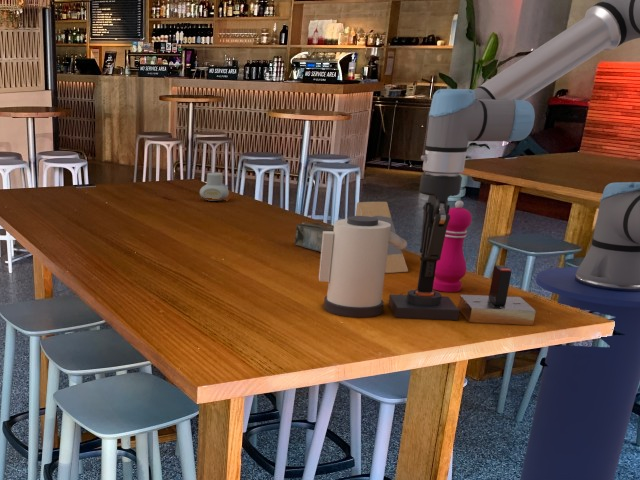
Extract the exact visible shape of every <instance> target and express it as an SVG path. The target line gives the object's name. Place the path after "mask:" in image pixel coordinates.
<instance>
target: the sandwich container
mask: <svg viewBox="0 0 640 480" xmlns="http://www.w3.org/2000/svg"><path fill="white" fill-rule="evenodd" d="M355 210H356V211H355V216H369V217H375V218H377V219H378V220H379V221H384V222H387V223H389V224H391V228H390V231H391V232H393V233H394V234H396V235H398V234H397V231H396V229H395V225H394V222H393V218H392V215H391V211H390V208H389V204H388V201H360V202H359V201H358V202H357V203H356V209H355ZM392 273H393V274H394V273H409V269H408V267H407V263H406V260H405V256H404V254H403V251H402V249H399V248H397V247H396V246H394V245H392V244H391V243H389V244H388V252H387V260H386V268H385V274H392Z"/></svg>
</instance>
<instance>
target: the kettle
mask: <svg viewBox="0 0 640 480" xmlns="http://www.w3.org/2000/svg"><path fill="white" fill-rule="evenodd" d="M333 227H334V231H323V237H322V248H321V252H320V259H319V270H318V281H319V282H325V283H326V282H328V283H327V293H326V296H324V299H323V309H324V310H325V311H326V312H328V313H331V314H333V315H335V316H340V317H345V318H359V319H361V318H374V317H377V316H380V315H382V314H383V311H384V303H385V302H384V300H383V291H384V282H385V277H386V276H385V275H386V273H385V268H386V260H387V252H388V244H389V243H391V244H392V245H394V246H396V247H397V248H399V249H401V250H405V249H406V248H407V247H408V242H407V240H406V239H404V238H403V237H401V236H399V235H398V234H397V233H396V234H397V235H396V234H394V233H393V232H391V231H390V228H391V224H389V223H387V222H384V221H379V220H378V219H377V218H375V217H369V216H356V215H351V216H348V217H347V218H341V219H337V220H335V221H334V223H333Z"/></svg>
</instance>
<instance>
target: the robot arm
mask: <svg viewBox="0 0 640 480" xmlns="http://www.w3.org/2000/svg"><path fill="white" fill-rule="evenodd" d="M637 39H640V0H600V1H599V2H597V3H595V4H594V5H593V6H591V7H589V8H588V9H587V10H586V11H585V14H584V17H583V18H582V19H580V20H578V21H577V22H575V23H574V24H573V25H571V26H570V27H568V28H566V29H565V30H563V31H562V32H560V33H559V34H557V35H556V36H554V37H553V38H551V39H549V40H547V42H545V43H544V44H542V45H541V46H538V47H537V48H536V49H534V50H532V51H531V52H530V53H528V54H527V55H525V56H523V57H522V58H521V59H518V61H516V62H514V63H513V64H511V65H509V66H508V67H506V68H505V69H504V70H502V71H501V72H499V73H497V74H496V75H494V76H493V77H491V78H490V79H488V80H487V81H485V82H484V83H482V84H480V85H479V86H477V87H476V88H474V89H469V88H439V89H437V90H436V91H435V92H433V93H434V94H433V96H432V100H431V104H430V109H429V113H428V124H427V133H426V138H425V139H426V140H425V147H424V154H423V155H421V156H420V160H421V161H423V163H422V168H421V169H422V171H423V172H424V173H422V175H420V181H419V189H418V190H419V193H420V194H421V195H425V196H428V198H427V201H426V202H425V203H424V205H423V206H422V209H423V212H422V213H423V217H422V227H421V237H420V238H421V239H420V247H419V253H420V254H421V255H420V257H419V260H420V268H419V274H418V281H417V288H416V289H417V291H418V292H432V291H434V289H433V283H434V279H435V270H436V263H437V260H440V258H441V252H442V248H443V243H444V239H445V234H446V230H447V225H448V223H449V220H450V215H449V214H448V213H449V209H451V207H450V204H449V197H455V196H458V195H460V194H461V188H462V187H461V186H462V181H463V176H462V175H461V174H462V173H463V172H464V170H465V164H466V159H467V153H468V152H467V151H468V144H469V142H506V143H510V142H521V141H523V140H524V139H527V137H528V136H529V135H530V134H531V132H532V131H533V128H534V125H535V124H534V123H535V118H536V113H535V108H534V106H533V105H532V103H531V102H530V101H528V100H527V99H529V98H530V97H532V96H533V95H535V94H537V93H538V92H540V91H541V90H543V89H545V88H546V87H547V86H549V85H551V84H552V83H553V82H555V81H556V80H558V79H561V78H562V77H563V76H564V75H566V74H568V73H569V72H571V71H572V70H574V69H576V68H577V67H579V66H580V65H582V64H583V63H585V62H586V61H588V60H590V59H592V58H593V57H594V56H596V55H598V54H599V53H601V52H603V51H607V52H608V51H613V50H615V49H616V48H619V46H621V45H623V44H625V43H627V42H630V41H632V40H637ZM599 202H600V203H599V206H598V212H597V216H596V220H595V226H594V231H593V235H592V240H591V245H590V247H589V249H588V252H587V253H586V255H585V256H584V258H583V260H582V261H581V263H580V264H579V266H578V267H579V268H578V270H577V272H576V276H575V281H577V282H578V283H580V284H583V285H586V286H589V287H593V288H598V289H603V290H610V291H621V292H640V181H635V182H634V181H628V182H627V181H622V182H611V183H608V184H607V185H606V186H604V189H603V192H602V195H601V198H600V200H599Z"/></svg>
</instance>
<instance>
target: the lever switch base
mask: <svg viewBox="0 0 640 480" xmlns="http://www.w3.org/2000/svg"><path fill="white" fill-rule="evenodd" d="M457 308H458V309H459V313H461V314H462V315H463V316H464V318H465V319H466V320H467V321H468V323H471V324H472V323H473V324H474V323H475V324H498V325H517V326H518V325H520V326H521V325H522V326H534V322H535V317H536V311H537V310H536V309H535V308H534V307H533V306H531V304H529V303H528V302H527V301H525V300H524V299H523V298H522V297H521V296H507V299H506V304H505V306H502V305H494V304H493V303H492V302H491V300H490V299H489V295H483V294H482V295H481V294H480V295H479V294H478V295H477V294H459V299H458V304H457Z"/></svg>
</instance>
